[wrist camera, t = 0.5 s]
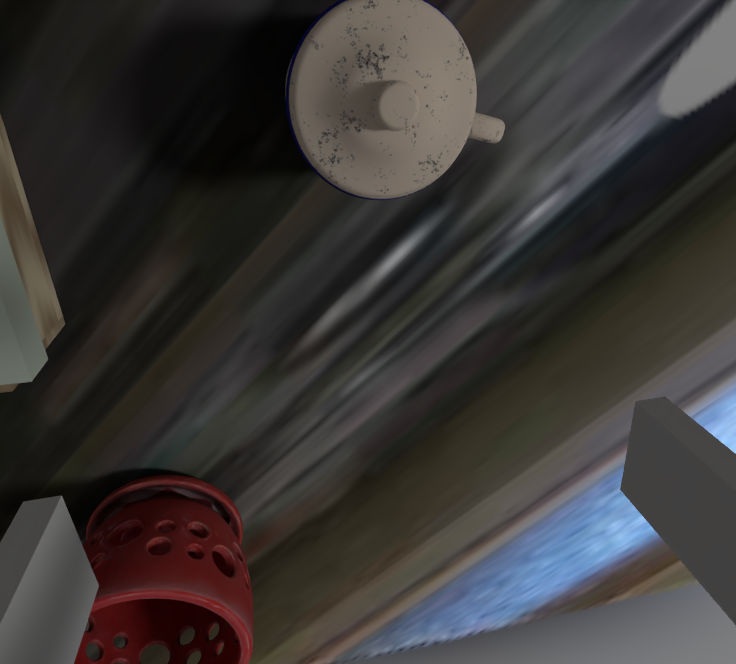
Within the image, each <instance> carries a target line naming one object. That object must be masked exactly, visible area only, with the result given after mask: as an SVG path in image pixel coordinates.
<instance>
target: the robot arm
mask: <svg viewBox="0 0 736 664" xmlns="http://www.w3.org/2000/svg"><path fill="white" fill-rule="evenodd" d="M620 490H621V491H622V492H623V493H624V494H625V496H626V497H627V498H628V499H629V500H630V502H631V503H632V504H633V505H634V506H635V507H636V509H637V510H638V511H639V512H640V513H641V514H642V516H643V517H644V518H645V519H646V520H647V521H648V523H649V524H650V525H651V526H652V527H653V529H654V530H655V531H656V532H657V533H658V534H659V536H660V537H661V538H662V539H663V540H664V541H665V543H666V544H667V545H668V546H669V547H670V549H671V550H672V551H673V552H674V553H675V554H676V556H677V557H678V558H679V559H680V560H681V561H682V563H683V564H684V565H685V566H686V567H687V568H688V570H689V571H690V572H691V573H692V574H693V576H694V577H695V578H696V579H697V580H698V581H699V583H700V584H701V585H702V586H703V587H704V588H705V590H706V591H707V592H708V593H709V594H710V596H711V597H712V598H713V599H714V600H715V601H716V603H717V604H718V605H719V606H720V607H721V608H722V610H723V611H724V612H725V613H726V614H727V615H728V617H729V618H730V619H731V620H732V621H733V623H734V624H735V625H736V454H735V453H734V452H732V451H731V450H730V449H729V448H728V447H726V446H725V445H724V444H723V443H721V442H720V441H719V440H718V439H716V438H715V437H714V436H713V435H712V434H710V433H709V432H708V431H707V430H705V429H704V428H703V427H702V426H700V425H699V424H698V423H697V422H695V421H694V420H693V419H692V418H691V417H689V416H688V415H687V414H686V413H684V412H683V411H682V410H681V409H679V408H678V407H677V406H676V405H675V404H673V403H672V402H671V401H670V400H668V399H667V398H666V397H660V398H654V399H648V400H642V401H636V403H635V408H634V414H633V420H632V426H631V431H630V437H629V443H628V449H627V454H626V460H625V466H624V472H623V477H622V483H621V489H620ZM98 587H99V584H98V582H97V580H96V577H95V575H94V572H93V570H92V568H91V565H90V563H89V560H88V558H87V555H86V553H85V551H84V548H83V546H82V543H81V541H80V539H79V536H78V534H77V531H76V529H75V526H74V524H73V522H72V519H71V517H70V514H69V512H68V509H67V507H66V505H65V502H64V500H63V497H62V495H61V496H55V497H49V498H43V499H37V500H31V501H25V502H23V503H22V505H21V507H20V508H19V510H18V512H17V514H16V516H15V517H14V519H13V521H12V523H11V524H10V526H9V528H8V530H7V532H6V533H5V535H4V537H3V539H2V541H1V542H0V664H74V662H75V659H76V655H77V652H78V649H79V646H80V643H81V640H82V637H83V634H84V631H85V628H86V624H87V621H88V618H89V615H90V612H91V609H92V606H93V603H94V600H95V596H96V593H97V590H98Z"/></svg>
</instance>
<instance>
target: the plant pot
mask: <svg viewBox="0 0 736 664" xmlns="http://www.w3.org/2000/svg"><path fill="white" fill-rule="evenodd" d="M242 537H243V526H242V520H241V516H240V514H239V512H238V509H237V507H236V506H235V504H234V503H233V502H232V501H231V499H230V498H229V497H228V496H227V495H226V494H225V493H223V492H222V491H221V490H219V489H218V488H216V487H215V486H213V485H211V484H209V483H207V482H205V481H202V480H200V479H196V478H192V477H188V476H181V475H155V476H149V477H144V478H140V479H136V480H134V481H132V482H129V483H127V484H125V485H123V486H121V487H120V488H118V489H117V490H115V491H113V492H112V493H111V494H109V495H108V496H107V497H106V498H105V499H104V500H103V501H102V502H101V503H100V504H99V505H98V506H97V508H96V509H95V510H94V512H93V513H92V515H91V517H90V519H89V522H88V525H87V529H86V542H85V543H84V544H83V545H82V546H83V548H84V551H85V553H86V555H87V558H88V560H89V563H90V565H91V568H92V570H93V572H94V575H95V577H96V580H97V582H98V584H99V587H98V590H97V593H96V596H95V600H94V603H93V606H92V609H91V612H90V615H89V618H88V621H89V629H88V631H87V632H85V631H84V634H83V637H82V640H81V643H80V646H79V649H78V652H77V655H76V659H75V662H74V664H113V663H115V662H121V663H123V664H141V662H140V656H141V653H142V652H143V650H144V649H145V648H146V647H148V646H150V645H154V644H160V645H164V646H166V647H167V648H168V650H169V651H170V660H169V662H168V664H187V660H188V658H189V656H190V655H191V654H192V653H194V652H196V651H200V652H201V654H202V655H201V659H200V661H199V662H198V664H248V663H249V661H250V658H251V655H252V650H253V599H252V589H251V582H250V577H249V572H248V569H247V565H246V559H245V556H244V553H243V551H242V548H241V546H240V545H241V542H242ZM216 624H219V633H218V635H217V636H216V637H215V638H214V639H213V640H211V641H210V640H209V633H210V630H211V629H212V628H213V627H214V626H215V625H216ZM189 628H193V629H194V630H195V636H194V639H193V640H192V641H191V642H190V643H189V644H186V645H181V644H180V636H181V634H182V633H183V632H184V631H185V630H187V629H189ZM116 636H121V637H123V638H124V640H125V646H124V647H123V648H118V647H116V646H115V645H114V638H115V637H116ZM90 642H91V643H94V644H96V645H97V647H98V649H99V651H100V655H99V658H98V660H96V661H93V660H90V659H89V658H88V657H87V655H86V648H87V646H88V644H89V643H90ZM223 644H224V647H223V650H222V652H221V653H220V654H219V655H218V652H219V649H220V647H221V646H222V645H223Z"/></svg>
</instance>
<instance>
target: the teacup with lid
mask: <svg viewBox="0 0 736 664" xmlns="http://www.w3.org/2000/svg"><path fill="white" fill-rule="evenodd" d="M285 98H286V110H287V116H288V122H289V126H290V129H291V132H292V135H293V138H294V141H295V143H296V145H297V147H298V149H299V151H300V152H301V154H302V156H303V158H304V159H305V160H306V162H307V163H308V164H309V166H310V167H311V168H312V169H313V170H314V171H315V172H316V173H317V174H318V175H319V176H320V177H321V178H322V179H323V180H324V181H326V182H327V183H328V184H330V185H331V186H333V187H335V188H336V189H338V190H340V191H342V192H344V193H346V194H349V195H352V196H355V197H359V198H363V199H370V200H389V199H396V198H400V197H404V196H407V195H410V194H413V193H415V192H417V191H419V190H421V189H423V188H425V187H426V186H428V185H429V184H431V183H432V182H434V181H435V180H436V179H437V178H439V177H440V176H441V175H442V174H443V173H444V172H445V171H446V170H447V169H448V168H449V167H450V166H451V164H452V163H453V162H454V161H455V159H456V158H457V156H458V155H459V153H460V152H461V150H462V148H463V146H464V144H465V142H466V140H467V138H472V139H476V140H480V141H484V142H489V143H497V142H499V141H500V140H501V138H502V136H503V133H504V129H505V124H504V122H503V121H502V120H500V119H497V118H494V117H490V116H487V115H483V114H479V113H475V109H476V98H477V90H476V77H475V72H474V67H473V63H472V59H471V56H470V53H469V51H468V48H467V46H466V44H465V42H464V40H463V38H462V36H461V35H460V33H459V32H458V30H457V28H456V27H455V26H454V25H453V23H452V22H451V21H450V20H449V19H448V18H447V17H446V16H445V15H444V14H443V13H442V12H441V11H440V10H439V9H437V8H436V7H435V6H434V5H432V4H430V3H429V2H427V1H426V0H339V1H338V2H336V3H335V4H333V5H332V6H330V7H329V8H328V9H326V10H325V11H324V12H323V13H321V14H320V15H319V16H318V17H317V18H316V19H315V20H314V22H313V23H312V24H311V25H310V26H309V28H308V29H307V30H306V32H305V33H304V35H303V36H302V38H301V40H300V42H299V44H298V46H297V48H296V50H295V52H294V54H293V56H292V59H291V61H290V64H289V67H288V71H287V76H286V84H285Z"/></svg>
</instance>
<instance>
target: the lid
mask: <svg viewBox="0 0 736 664" xmlns="http://www.w3.org/2000/svg"><path fill="white" fill-rule="evenodd" d="M47 360H48V357H47V354H46V351H45V348H44V345H43V342H42V339H41V336H40V333H39V330H38V327H37V324H36V321H35V318H34V315H33V312H32V309H31V306H30V303H29V300H28V297H27V294H26V291H25V288H24V285H23V282H22V279H21V276H20V273H19V270H18V267H17V264H16V261H15V258H14V255H13V252H12V249H11V246H10V243H9V240H8V237H7V234H6V231H5V228H4V226H3V223H2V220H1V217H0V385H6V384H15V383H24V382H32V380H33V379H34V378H35V376H36V375H37V374H38V372H39V371H40V370H41V368H42V367H43V366H44V364H45V363H46V362H47Z"/></svg>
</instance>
